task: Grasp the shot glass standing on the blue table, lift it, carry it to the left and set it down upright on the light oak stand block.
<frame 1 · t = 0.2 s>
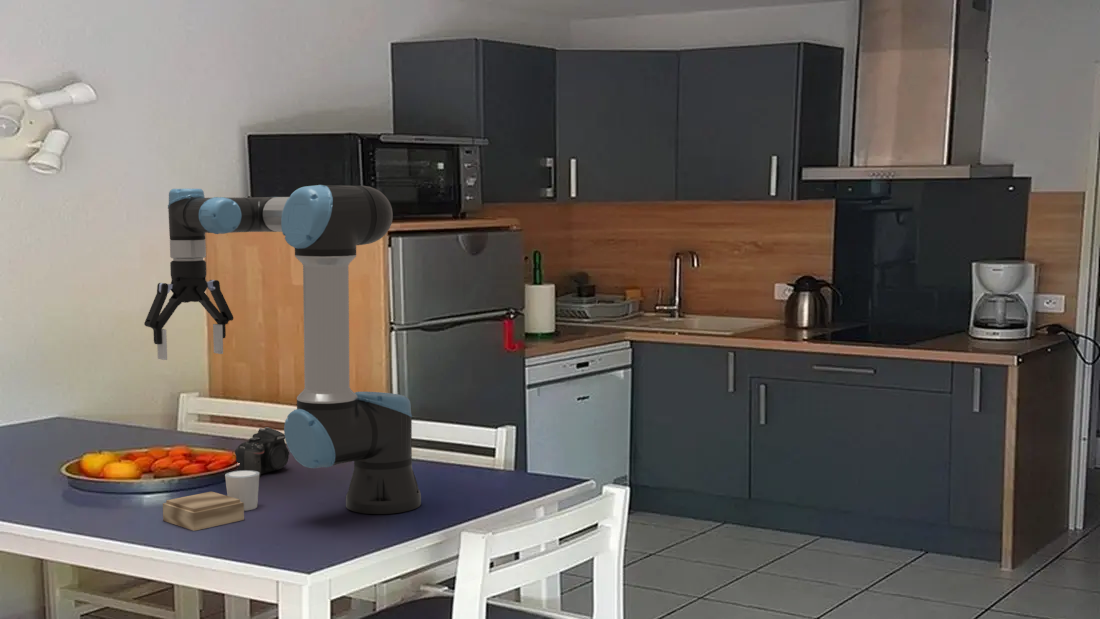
hand: (190, 356, 278), 28 cm above the table, fingers open, 13 cm apart
shot glass: (243, 508, 257), on the table
camera: (265, 473, 289), on the table
stand: (203, 520, 247), on the table
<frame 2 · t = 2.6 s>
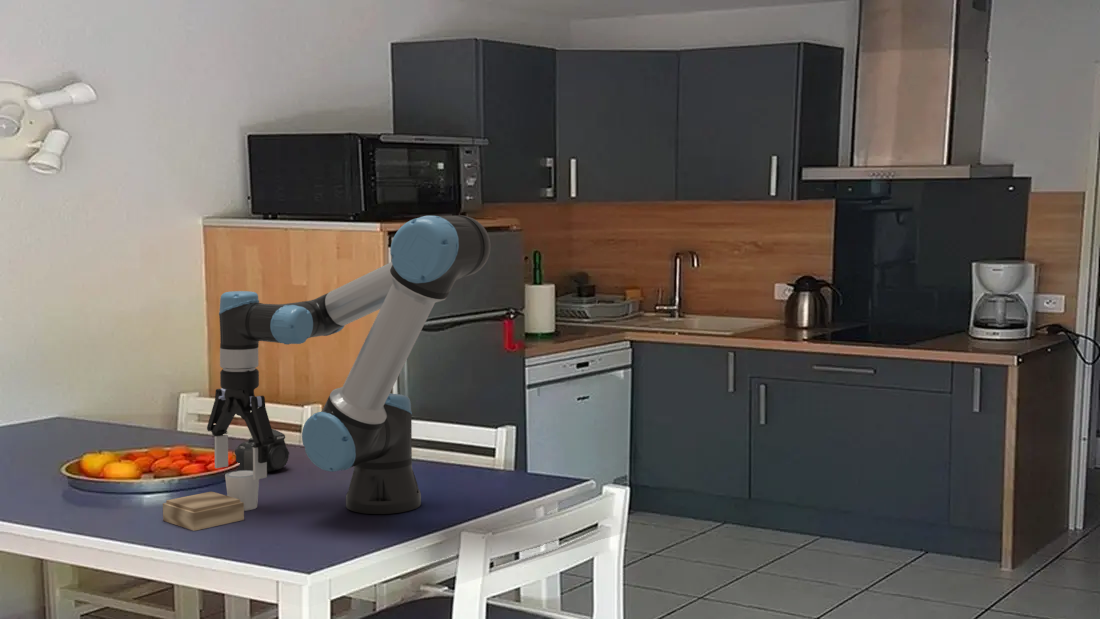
hand: (240, 472, 256), 7 cm above the table, fingers open, 13 cm apart
nothing on the table moved.
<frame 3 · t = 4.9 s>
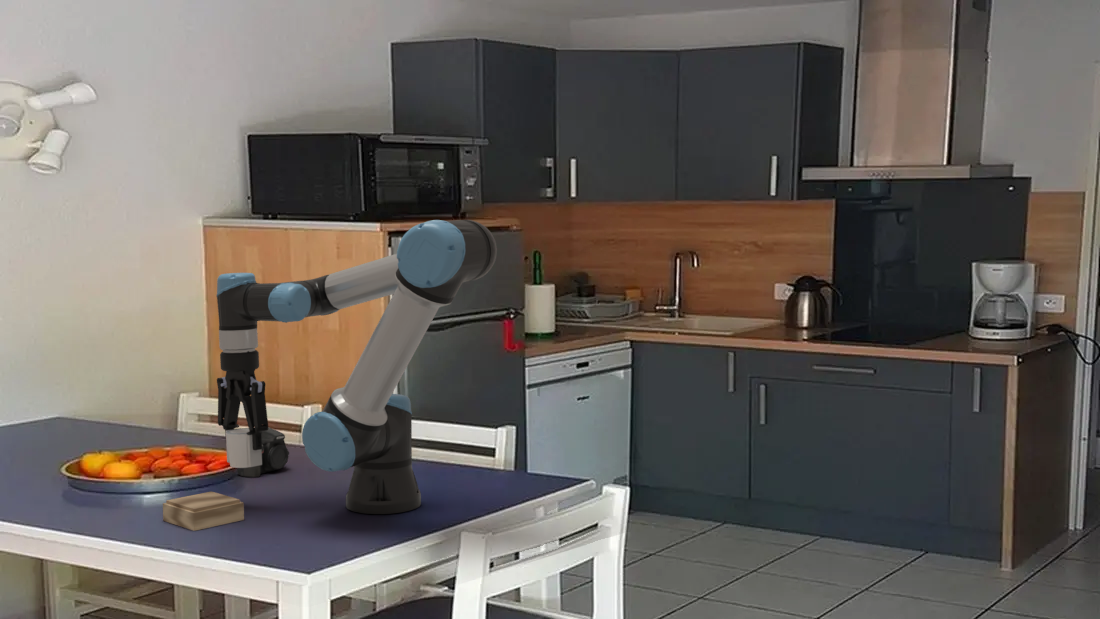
hand: (244, 463, 256), 9 cm above the table, fingers closed on shot glass, 7 cm apart
shot glass: (244, 465, 256), point 9 cm above the table, touching gripper
everything else where it was.
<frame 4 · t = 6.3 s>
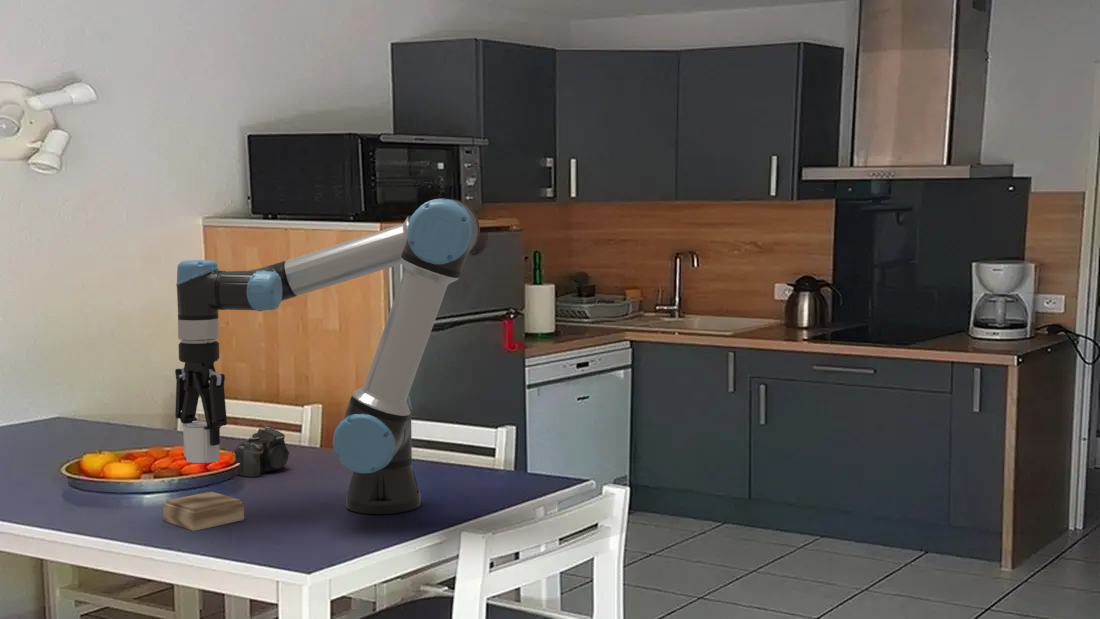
hand: (201, 458, 246), 12 cm above the table, fingers closed on shot glass, 7 cm apart
shot glass: (201, 460, 246), point 12 cm above the table, touching gripper
everything else where it was.
when the fingers open (4 cm above the table, at t = 7.9 s): shot glass stays where it is, resting on stand.
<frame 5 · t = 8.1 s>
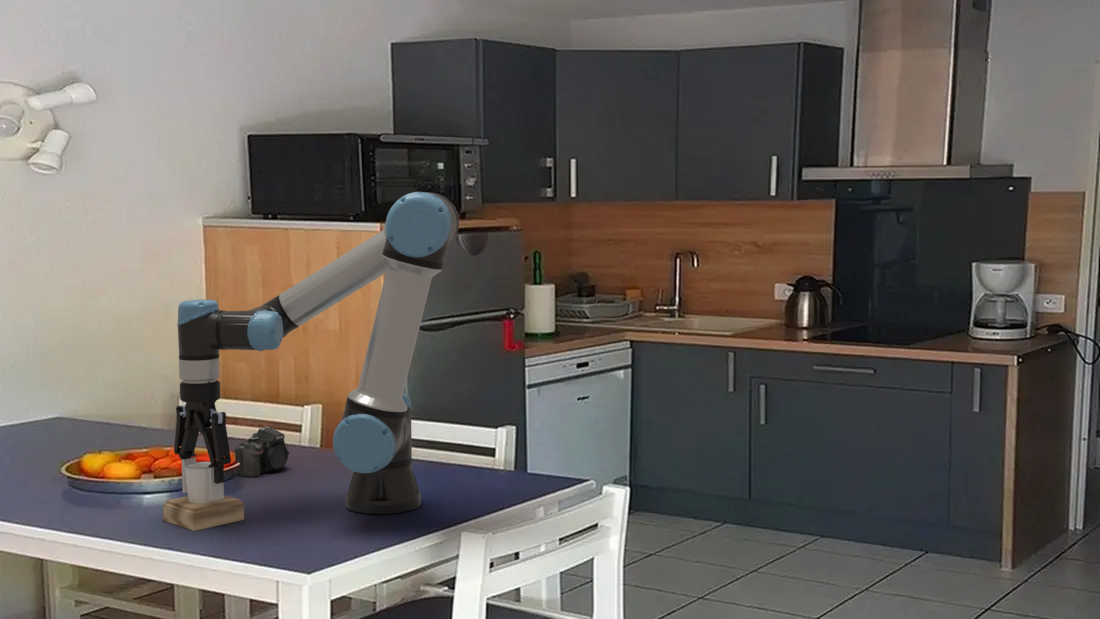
hand: (203, 495, 246), 5 cm above the table, fingers open, 9 cm apart
shot glass: (203, 501, 246), point 4 cm above the table, touching stand
everything else where it was.
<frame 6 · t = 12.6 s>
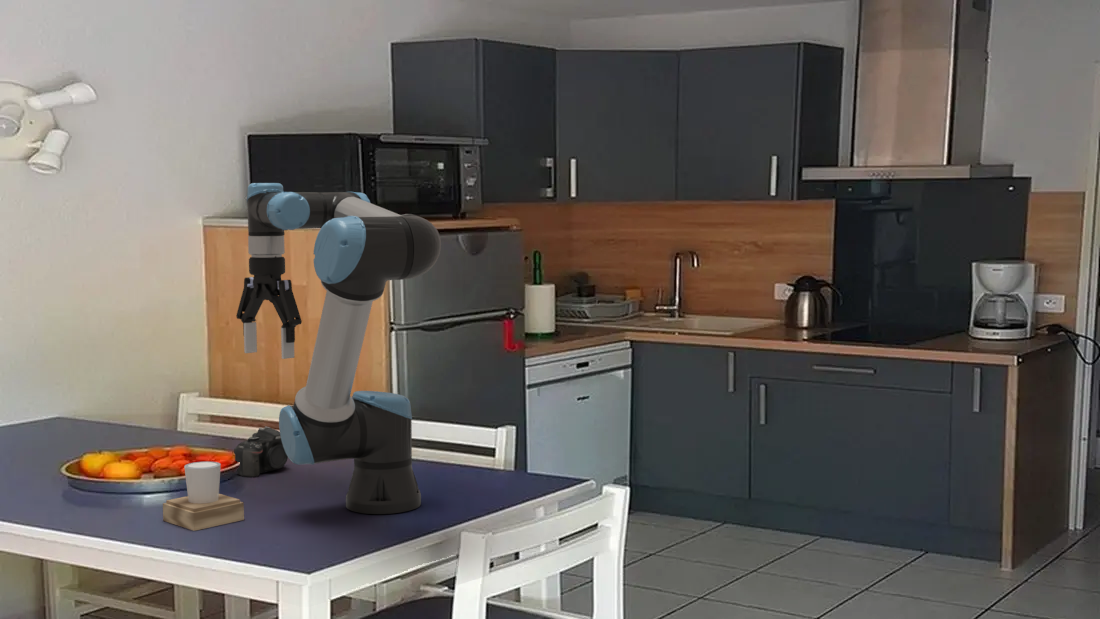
hand: (269, 355, 271), 29 cm above the table, fingers open, 13 cm apart
nothing on the table moved.
at the end: shot glass 0.1 cm from the stand (horizontally); shot glass point 3.8 cm above the table; shot glass tilted 0° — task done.
